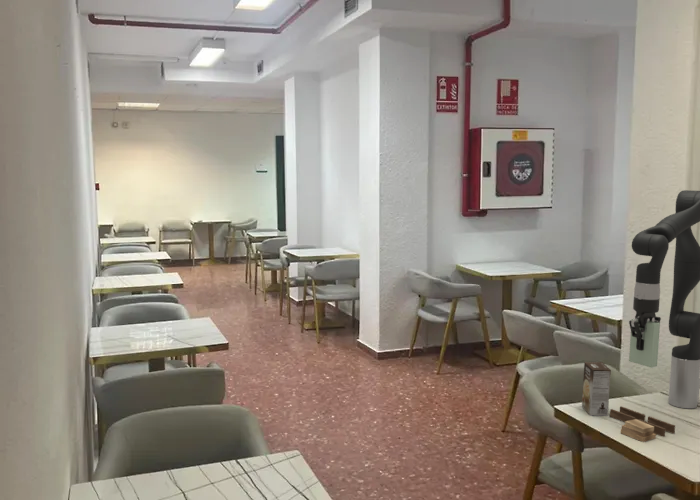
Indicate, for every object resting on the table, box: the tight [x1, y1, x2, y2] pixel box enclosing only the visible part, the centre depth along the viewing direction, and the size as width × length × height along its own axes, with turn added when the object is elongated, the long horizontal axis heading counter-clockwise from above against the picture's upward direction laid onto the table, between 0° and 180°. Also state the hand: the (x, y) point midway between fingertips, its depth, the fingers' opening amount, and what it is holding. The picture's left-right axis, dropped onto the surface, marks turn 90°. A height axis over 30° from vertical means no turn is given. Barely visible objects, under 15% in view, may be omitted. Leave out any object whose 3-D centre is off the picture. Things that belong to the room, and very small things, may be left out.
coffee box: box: [581, 361, 612, 417], centre depth 227 cm, size 9×6×16 cm
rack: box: [609, 406, 676, 438], centre depth 216 cm, size 6×20×2 cm, turn 31°
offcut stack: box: [620, 419, 657, 443], centre depth 206 cm, size 6×8×4 cm
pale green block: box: [628, 318, 661, 369], centre depth 213 cm, size 3×8×14 cm, turn 32°
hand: (643, 348), depth 214 cm, fingers closed on pale green block, 3 cm apart
